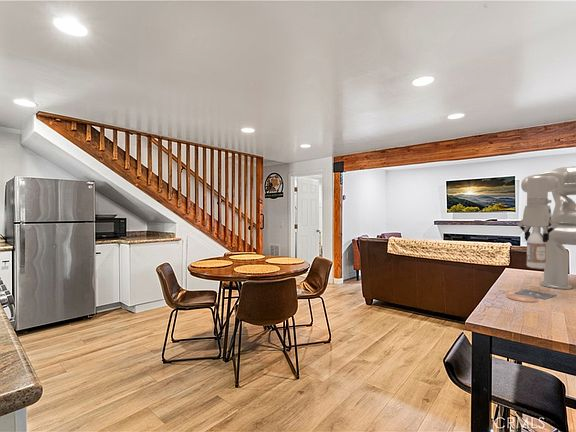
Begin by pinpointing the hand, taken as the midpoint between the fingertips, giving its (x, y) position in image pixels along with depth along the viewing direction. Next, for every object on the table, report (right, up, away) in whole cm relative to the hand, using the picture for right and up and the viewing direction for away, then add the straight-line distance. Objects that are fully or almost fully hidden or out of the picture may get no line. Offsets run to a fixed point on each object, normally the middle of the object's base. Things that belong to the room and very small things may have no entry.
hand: (536, 240), depth 145 cm
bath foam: (0, -13, 0) cm, 13 cm away
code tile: (0, -25, 0) cm, 25 cm away
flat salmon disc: (-12, -25, -7) cm, 29 cm away
